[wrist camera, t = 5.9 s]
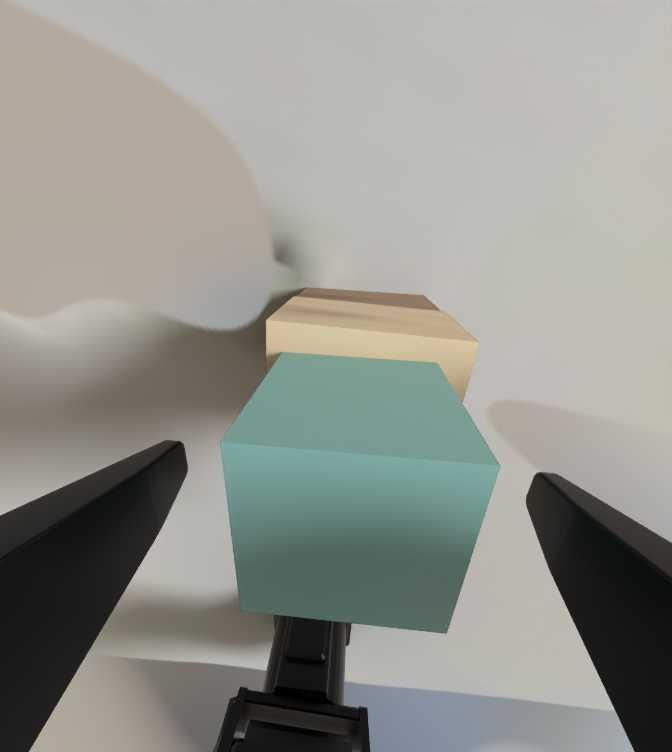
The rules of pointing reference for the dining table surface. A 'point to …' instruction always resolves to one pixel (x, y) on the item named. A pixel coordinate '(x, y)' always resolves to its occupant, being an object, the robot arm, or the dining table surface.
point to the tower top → (372, 335)
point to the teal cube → (355, 492)
